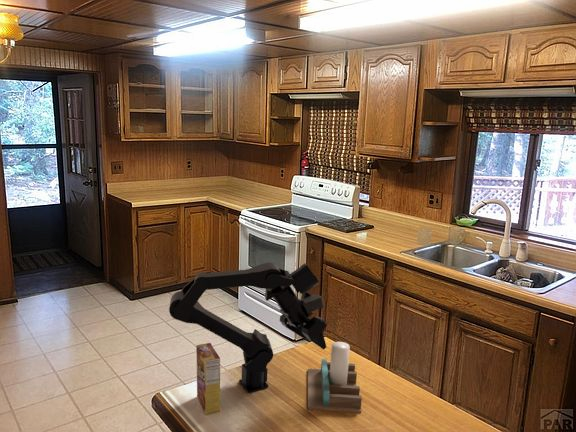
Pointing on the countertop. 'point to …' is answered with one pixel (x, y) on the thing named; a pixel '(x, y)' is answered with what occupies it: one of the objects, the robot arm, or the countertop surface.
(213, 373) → the candy box
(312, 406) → the comb rack
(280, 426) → the countertop surface
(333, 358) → the white cylinder
